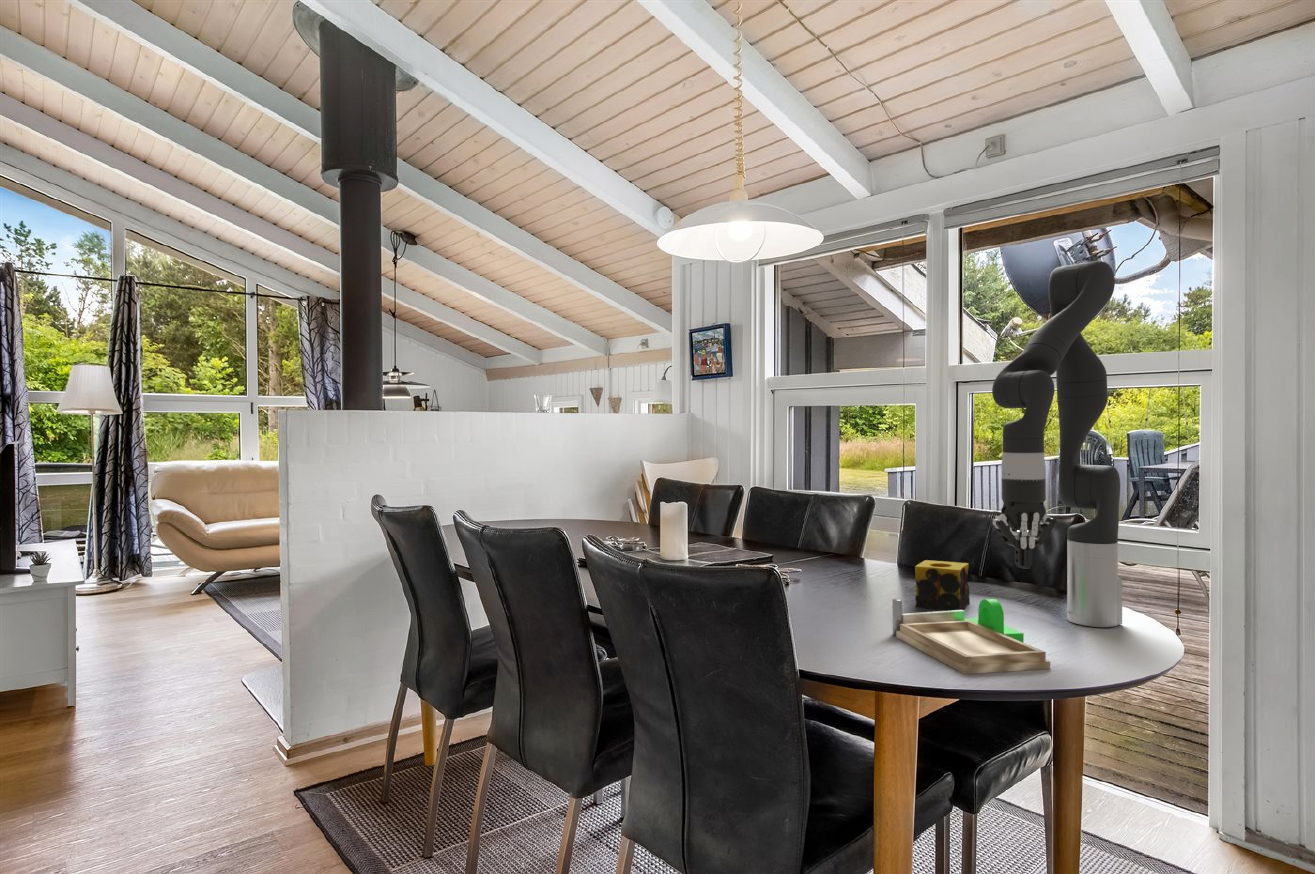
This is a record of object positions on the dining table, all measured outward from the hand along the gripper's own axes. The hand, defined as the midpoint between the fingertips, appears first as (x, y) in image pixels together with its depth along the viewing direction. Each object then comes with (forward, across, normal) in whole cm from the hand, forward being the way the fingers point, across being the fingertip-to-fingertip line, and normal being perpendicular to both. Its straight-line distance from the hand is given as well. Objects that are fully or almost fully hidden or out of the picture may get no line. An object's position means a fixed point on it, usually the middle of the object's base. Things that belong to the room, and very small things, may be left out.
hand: (1023, 567), depth 141 cm
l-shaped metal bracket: (+14, -20, +11) cm, 27 cm away
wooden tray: (+14, -13, -2) cm, 20 cm away
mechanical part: (+15, -2, +8) cm, 17 cm away
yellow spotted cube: (+15, +2, +31) cm, 34 cm away
